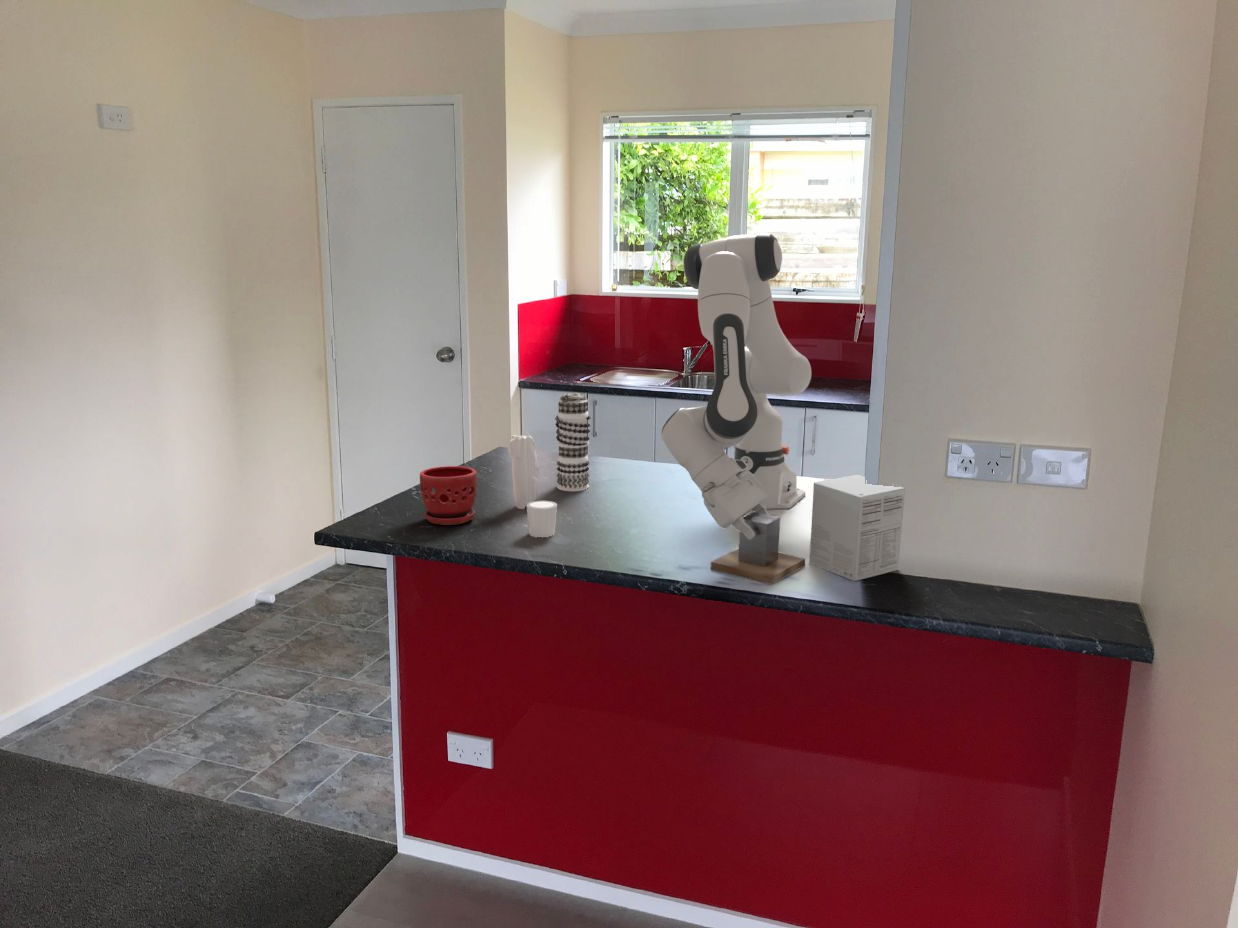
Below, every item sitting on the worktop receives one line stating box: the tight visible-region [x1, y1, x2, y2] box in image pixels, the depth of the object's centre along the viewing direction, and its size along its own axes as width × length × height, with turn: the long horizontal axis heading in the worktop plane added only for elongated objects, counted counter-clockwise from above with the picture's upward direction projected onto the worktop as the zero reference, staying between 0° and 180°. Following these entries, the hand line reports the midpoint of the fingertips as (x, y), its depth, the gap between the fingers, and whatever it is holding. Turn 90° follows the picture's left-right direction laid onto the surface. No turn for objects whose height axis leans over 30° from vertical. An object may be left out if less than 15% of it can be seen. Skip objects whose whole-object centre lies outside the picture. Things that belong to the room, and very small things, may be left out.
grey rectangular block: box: [738, 511, 781, 567], centre depth 198 cm, size 6×6×9 cm
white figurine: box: [507, 434, 540, 510], centre depth 238 cm, size 7×18×7 cm
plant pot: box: [419, 465, 478, 526], centre depth 228 cm, size 13×13×12 cm
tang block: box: [710, 548, 806, 585], centre depth 199 cm, size 14×14×6 cm
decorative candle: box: [554, 392, 592, 492], centre depth 256 cm, size 9×9×25 cm
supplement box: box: [808, 474, 906, 582], centre depth 198 cm, size 13×13×18 cm
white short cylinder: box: [526, 500, 558, 539], centre depth 219 cm, size 7×7×7 cm
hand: (761, 530), depth 197 cm, fingers open, 8 cm apart
